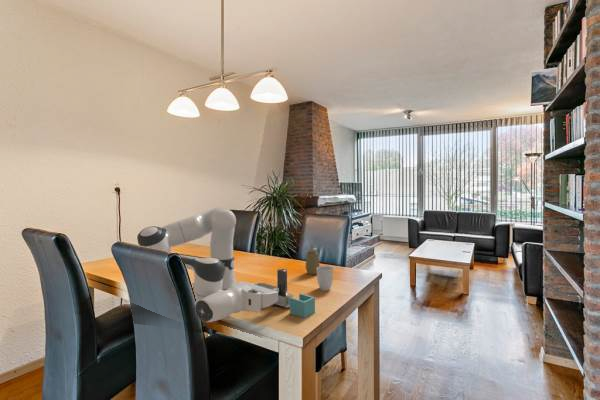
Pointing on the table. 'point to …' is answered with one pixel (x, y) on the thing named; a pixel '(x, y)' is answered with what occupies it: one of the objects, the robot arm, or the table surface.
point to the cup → (325, 277)
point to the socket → (302, 305)
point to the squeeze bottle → (312, 260)
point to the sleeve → (269, 288)
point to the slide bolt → (283, 289)
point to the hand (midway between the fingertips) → (268, 287)
